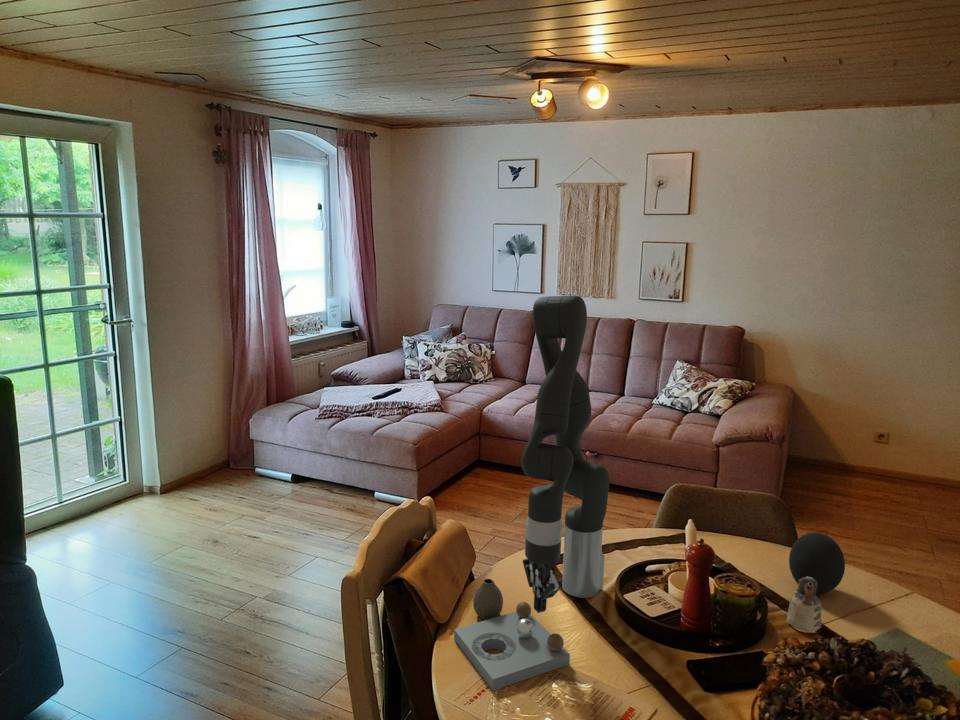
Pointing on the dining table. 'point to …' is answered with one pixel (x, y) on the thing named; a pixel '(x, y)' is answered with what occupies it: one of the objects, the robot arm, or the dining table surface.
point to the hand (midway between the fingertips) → (539, 610)
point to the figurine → (805, 606)
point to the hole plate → (508, 650)
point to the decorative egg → (817, 561)
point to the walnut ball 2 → (555, 642)
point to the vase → (488, 600)
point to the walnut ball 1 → (523, 609)
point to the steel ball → (525, 628)
